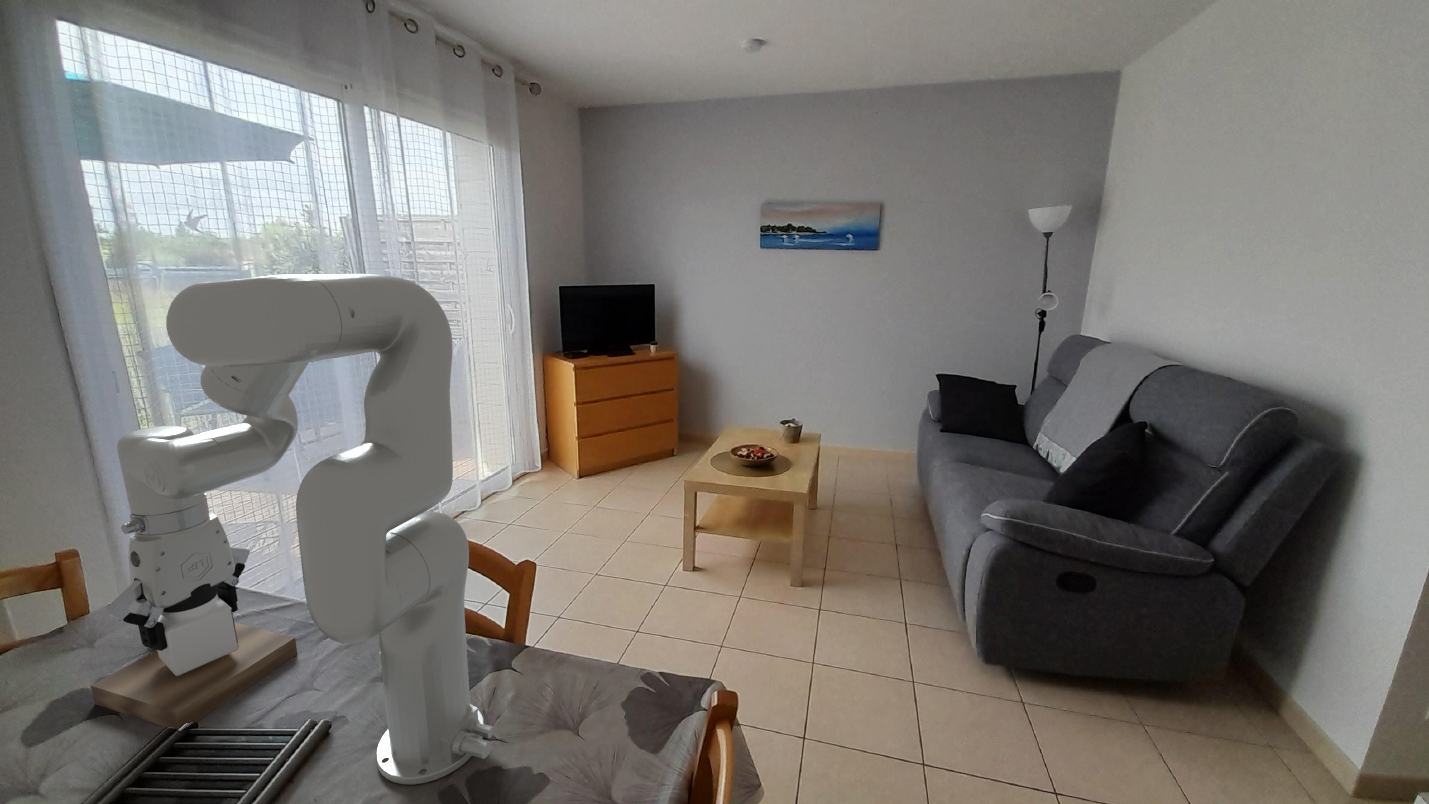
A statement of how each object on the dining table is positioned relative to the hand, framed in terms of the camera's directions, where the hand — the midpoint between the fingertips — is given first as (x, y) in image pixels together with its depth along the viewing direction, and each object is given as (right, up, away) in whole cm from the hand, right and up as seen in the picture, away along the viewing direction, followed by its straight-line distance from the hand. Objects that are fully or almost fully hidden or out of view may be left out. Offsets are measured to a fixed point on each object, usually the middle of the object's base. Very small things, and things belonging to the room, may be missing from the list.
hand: (194, 627), depth 81 cm
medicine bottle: (0, -4, +1) cm, 5 cm away
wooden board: (-1, -8, +2) cm, 8 cm away
